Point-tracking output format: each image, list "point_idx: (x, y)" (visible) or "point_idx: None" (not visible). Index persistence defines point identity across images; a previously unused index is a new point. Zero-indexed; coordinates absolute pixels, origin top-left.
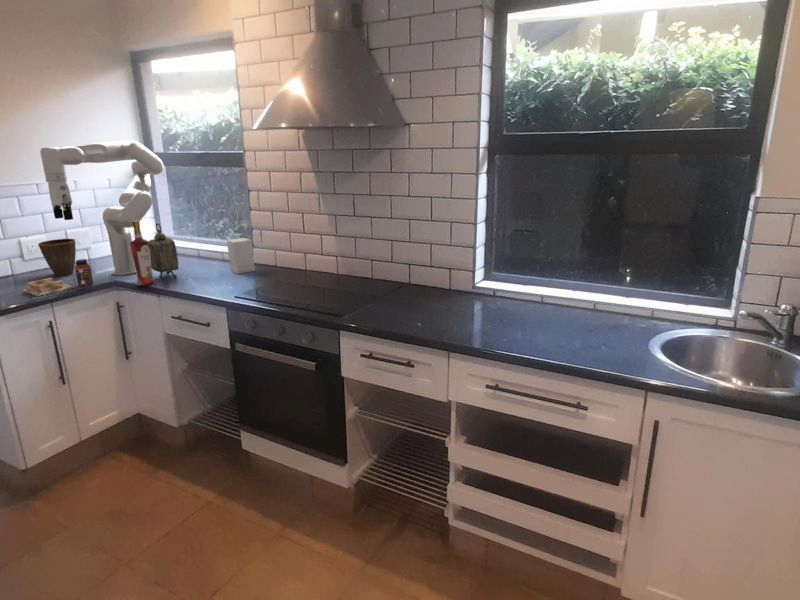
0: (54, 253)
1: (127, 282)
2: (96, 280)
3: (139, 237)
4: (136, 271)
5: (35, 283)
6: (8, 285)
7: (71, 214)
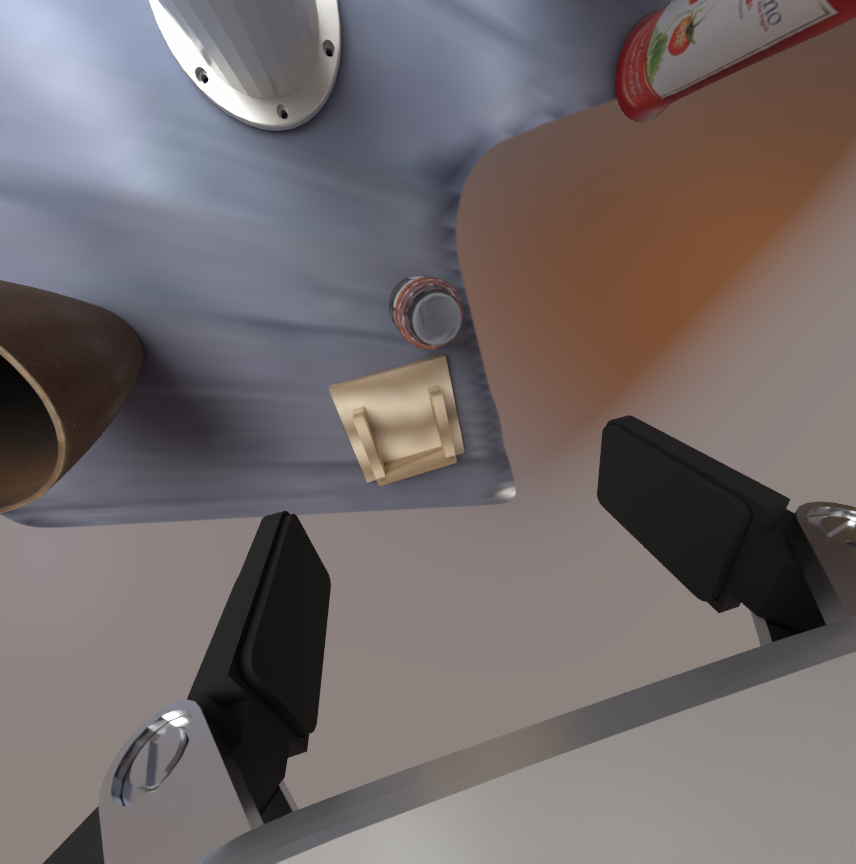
0: (103, 416)
1: (513, 135)
2: (359, 248)
3: None
4: (693, 87)
5: (380, 461)
6: (227, 514)
7: (688, 458)
